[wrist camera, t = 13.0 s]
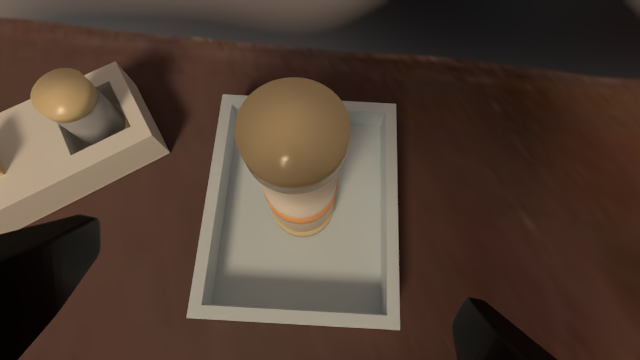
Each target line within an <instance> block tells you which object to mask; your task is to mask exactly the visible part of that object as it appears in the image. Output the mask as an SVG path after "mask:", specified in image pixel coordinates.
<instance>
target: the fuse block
mask: <svg viewBox="0 0 640 360" xmlns="http://www.w3.org/2000/svg"><path fill="white" fill-rule="evenodd" d="M84 76H85V77H86V78H87V79H88V80H89V81H90V82H91V83H92V84H93V85H94V86H95V88H96V89H97V90H98V91H99V92H100V93H101V94H102V95H103V96H104V97H106V98H107V99H108V100H109V101H110V102H111V103H112V104H113V105H114V106H115V107H116V108H117V109H119V110H120V111H121V112H122V113H123V114H125V115H126V118H127V120H128V122H129V124H130V126H131V127H129V128H127V129H125V130H122V131H120V132H118V133H116V134H114V135H112V136H110V137H108V138H106V139H104V140H102V141H100V142H98V143H95V144H93V145H91V146H89V145H87V144H86V143H85V142H84V141H83V140H82V139H80V138H79V137H77V136H76V135H74V134H73V133H71V132H70V131H68V130H67V129H65V128H64V127H62V126H61V125H59V124H58V123H56V122H54V121H52V120H50V119H49V118H47V117H46V116H44V115H43V114H41V113H40V112H38V111H37V110H36V109H35V108H34V107H33V105H32V103H31V99H30V100H27V101H25V102H23V103H21V104H18V105H16V106H14V107H12V108H9V109H7V110H5V111H3V112H0V234H3V233H7V232H11V231H15V230H19V229H21V228H23V227H25V226H27V225H28V224H30V223H32V222H34V221H36V220H38V219H40V218H42V217H44V216H46V215H48V214H50V213H52V212H54V211H56V210H58V209H60V208H62V207H64V206H66V205H68V204H70V203H72V202H74V201H76V200H78V199H80V198H82V197H84V196H86V195H88V194H90V193H92V192H94V191H96V190H98V189H100V188H102V187H104V186H106V185H108V184H110V183H112V182H114V181H115V180H117V179H119V178H121V177H123V176H125V175H127V174H129V173H131V172H133V171H135V170H137V169H139V168H141V167H143V166H145V165H147V164H149V163H151V162H153V161H155V160H157V159H159V158H161V157H163V156H165V155H167V154H169V153H170V152H169V150H168V148H167V146H166V144H165V142H164V140H163V138H162V136H161V134H160V132H159V130H158V128H157V126H156V124H155V122H154V120H153V118H152V116H151V114H150V112H149V110H148V108H147V106H146V104H145V102H144V100H143V98H142V96H141V94H140V92H139V90H138V88H137V86H136V85H135V83H134V82H133V81H132V80H131V79H130V78H129V76H128V75H127V74H126V73H125V72H124V71H123V70H122V68H121V67H120V66H119V65H118V64H117V63H116V61H115V62H113V63H111V64H108V65H106V66H104V67H102V68H99V69H97V70H95V71H93V72H90V73H88V74H86V75H84Z"/></svg>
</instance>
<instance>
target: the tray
mask: <svg viewBox="0 0 640 360" xmlns="http://www.w3.org/2000/svg"><path fill="white" fill-rule="evenodd" d="M247 97H248V96H243V95H225V94H223V96H222V102H221V108H220V114H219V120H218V127H217V133H216V139H215V145H214V151H213V157H212V164H211V170H210V176H209V182H208V188H207V194H206V201H205V207H204V213H203V219H202V225H201V231H200V238H199V244H198V250H197V256H196V262H195V268H194V275H193V281H192V287H191V293H190V299H189V305H188V311H187V318H195V319H213V320H231V321H248V322H266V323H284V324H301V325H319V326H336V327H354V328H372V329H389V330H400V295H399V238H398V181H397V124H396V104H390V103H372V102H353V101H342V102H343V104H344V105H345V107H346V109H347V112H348V115H349V118H350V124H351V133H350V140H349V144H348V149H347V153H346V157H345V161H344V163H343V165H342V167H341V169H340V172H339V177H338V182H337V192H336V197H335V200H334V210H333V215H332V218H331V220H330V222H329V224H328V225H327V226H326V228H325V229H324V230H322V231H321V232H320V233H318V234H316V235H314V236H310V237H296V236H293V235H290V234H288V233H287V232H285V231H284V230H283V229H282V228H281V227H280V226H279V225H278V223H277V221H276V219H275V217H274V216H273V213H272V209H271V208H270V206H269V204H268V202H267V200H266V198H265V195H264V192H263V190H262V188H261V186H260V184H259V182H258V181H257V180H256V179H255V177H254V176H253V175H252V174H251V172H250V171H249V169H248V168H247V166H246V164H245V162H244V160H243V158H242V156H241V155H240V153H239V151H238V148H237V145H236V142H235V137H234V125H235V120H236V116H237V113H238V111H239V109H240V107H241V105H242V103H243V102H244V101H245V99H246V98H247Z"/></svg>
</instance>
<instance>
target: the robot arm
mask: <svg viewBox="0 0 640 360" xmlns="http://www.w3.org/2000/svg"><path fill="white" fill-rule="evenodd" d="M100 247H101V244H100V222H99V220H98V219H97V218H95V217H91V216H86V215H81V214H79V215H74V216H70V217H66V218H62V219H58V220H54V221H50V222H46V223H42V224H38V225H34V226H31V227H27V228H23V229H19V230H15V231H11V232H7V233H3V234H0V360H18V359H19V357H20V356H21V355H22V354H23V353H24V352H25V351H26V349H27V348H28V347H29V346H30V345H31V344H32V342H33V341H34V340H35V339H36V338H37V337H38V336H39V334H40V333H41V332H42V331H43V330H44V329H45V327H46V326H47V325H48V324H49V323H50V322H51V320H52V319H53V318H54V317H55V316H56V314H57V313H58V312H59V310H60V309H61V308H62V306H63V305H64V304H65V302H66V301H67V300H68V298H69V297H70V295H71V294H72V292H73V291H74V290H75V288H76V287H77V285H78V284H79V283H80V281H81V280H82V278H83V277H84V275H85V274H86V273H87V271H88V270H89V268H90V267H91V266H92V264H93V263H94V261H95V260H96V258H97V257H98V255H99V252H100ZM452 333H453V338H454V344H455V349H456V355H457V360H557V359H556V358H554V357H553V356H552V355H551V354H549V353H548V352H547V351H546V350H545V349H543V348H542V347H541V346H540V345H538V344H537V343H536V342H535V341H533V340H532V339H531V338H530V337H528V336H527V335H526V334H525V333H524V332H522V331H521V330H520V329H519V328H517V327H516V326H515V325H514V324H512V323H511V322H510V321H509V320H508V319H506V318H505V317H504V316H503V315H501V314H500V313H499V312H498V311H496V310H495V309H494V308H493V307H491V306H490V305H489V304H488V303H487V302H485V301H483V300H480V299H475V298H471V297H468V298H466V299H465V300H464V301H463V303H462V305H461V307H460V309H459V311H458V313H457V315H456V317H455V319H454V321H453V324H452Z"/></svg>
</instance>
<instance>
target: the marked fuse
mask: <svg viewBox="0 0 640 360" xmlns="http://www.w3.org/2000/svg"><path fill="white" fill-rule="evenodd" d="M350 133H351V124H350V118H349V115H348V112H347V109H346V107H345V105H344V104H343V102H342V101H341V99H340V98H339V97H338V96H337V95H336V94H335V93H334V92H333V91H332V90H331V89H329V88H328V87H326V86H325V85H323V84H321V83H319V82H316V81H314V80H310V79H306V78H299V77H288V78H281V79H276V80H273V81H270V82H268V83H266V84H264V85H262V86H260V87H259V88H257V89H256V90H255V91H253V92H252V93H251V94H250V95H249V96H248V97H247V98H246V99H245V101H244V102H243V103H242V105H241V107H240V109H239V111H238V113H237V116H236V120H235V125H234V137H235V142H236V145H237V148H238V151H239V153H240V155H241V156H242V158H243V160H244V162H245V164H246V166H247V168H248V169H249V171H250V172H251V174H252V175H253V176H254V177H255V179H256V180H257V181H258V182H259V184H260V186H261V188H262V190H263V192H264V195H265V198H266V200H267V202H268V204H269V206H270V208H271V209H272V213H273V216H274V217H275V219H276V221H277V223H278V225H279V226H280V227H281V228H282V229H283V230H284V231H285V232H287V233H288V234H290V235H293V236H296V237H310V236H314V235H316V234H318V233H320V232H321V231H322V230H324V229H325V228H326V226H327V225H328V224H329V222H330V220H331V218H332V215H333V210H334V200H335V197H336V192H337V182H338V177H339V172H340V169H341V167H342V165H343V163H344V161H345V157H346V153H347V149H348V144H349V140H350Z"/></svg>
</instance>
